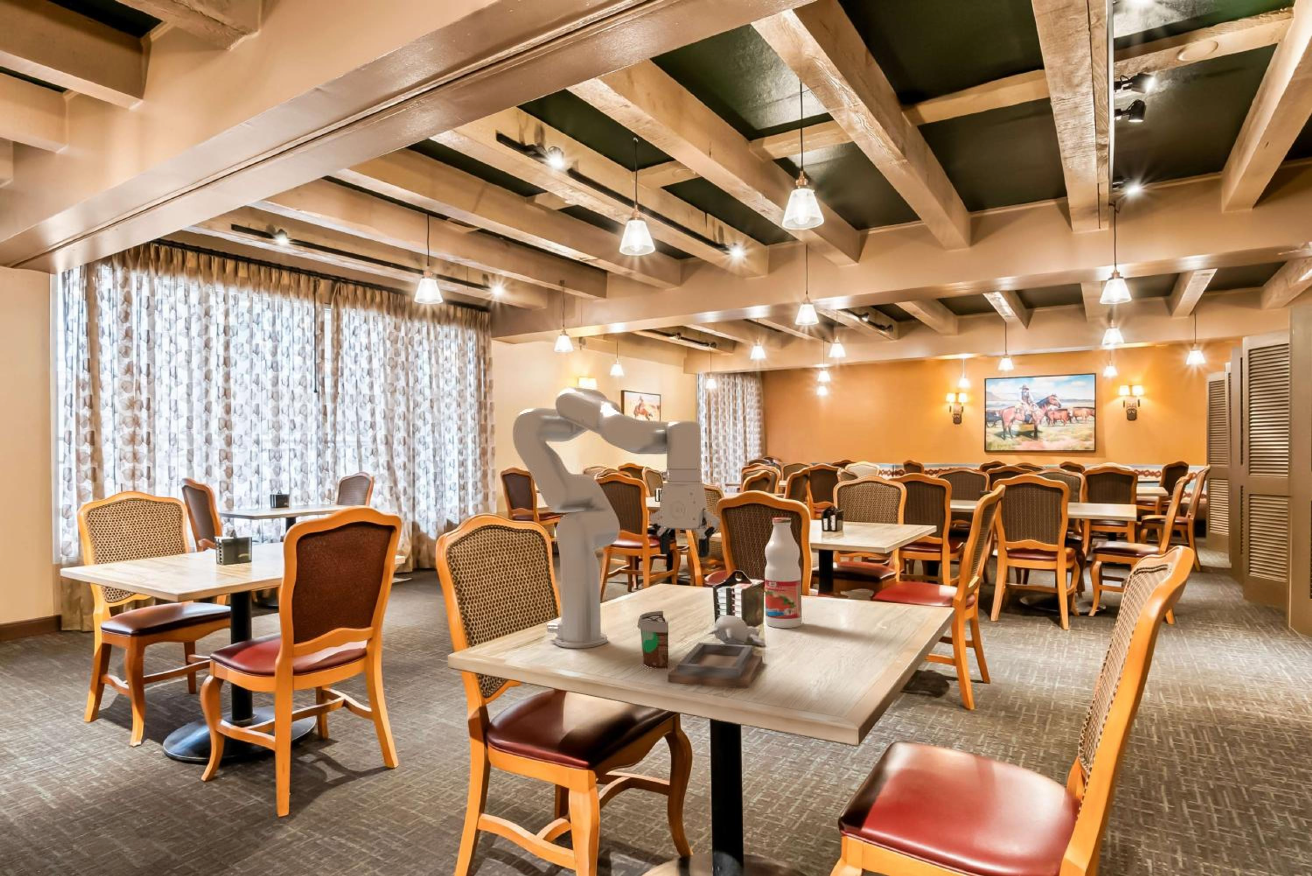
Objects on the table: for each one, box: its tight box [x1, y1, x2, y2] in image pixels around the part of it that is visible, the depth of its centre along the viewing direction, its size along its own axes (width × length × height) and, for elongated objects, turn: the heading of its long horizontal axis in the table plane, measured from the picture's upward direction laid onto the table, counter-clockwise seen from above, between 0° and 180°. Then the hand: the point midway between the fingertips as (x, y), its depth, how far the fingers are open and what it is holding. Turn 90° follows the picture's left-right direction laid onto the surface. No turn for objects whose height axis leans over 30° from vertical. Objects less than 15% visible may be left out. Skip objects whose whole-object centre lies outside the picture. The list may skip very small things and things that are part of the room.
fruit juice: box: [764, 517, 803, 629], centre depth 192 cm, size 9×9×28 cm
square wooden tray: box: [667, 642, 763, 689], centre depth 150 cm, size 16×18×4 cm
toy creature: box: [705, 614, 766, 647], centre depth 170 cm, size 13×7×20 cm
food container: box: [636, 610, 670, 670], centre depth 158 cm, size 12×6×10 cm, turn 5°
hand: (684, 555), depth 160 cm, fingers open, 9 cm apart
